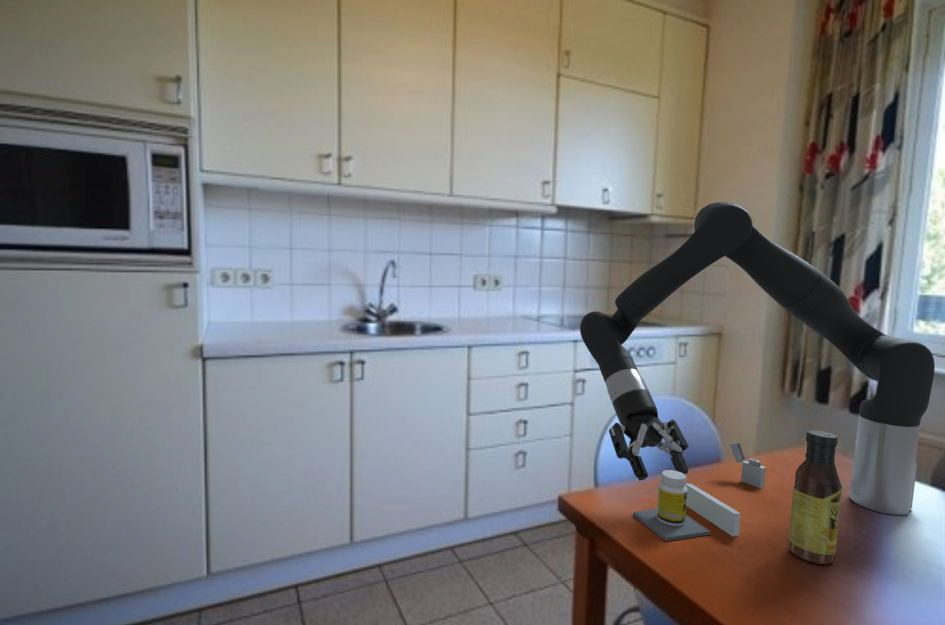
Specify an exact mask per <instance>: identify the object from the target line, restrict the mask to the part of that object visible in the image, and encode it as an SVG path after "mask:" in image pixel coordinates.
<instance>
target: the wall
mask: <svg viewBox="0 0 945 625" xmlns="http://www.w3.org/2000/svg"><path fill="white" fill-rule="evenodd" d="M685 486H686V488H687V502H686V508H688V509H691V510H692V511H693V512H695V513H696V514H698V515H699V516H701V517H702V518H704V519H706V520H707V521H708V522H710V523H711V524H713V525H715V526H716V527H718V528H719V529H721V531H723V532H725V533H726V534H727V535H730V536H731V537H732V538H733V537H738V536H739V534H740V523H741V522H740V521H741V513H740V512H739V511H737V510H736V509H735V508H732V507H731V506H729V505H727V504H726V503H724V502H722V501H721V500H719V499H717V498H716V497H714V496H713V495H710V494H709V493H708V492H705V491H704V490H702V489H700V488H699V487H697V486H696V485H694V484H692V483H686V485H685Z"/></svg>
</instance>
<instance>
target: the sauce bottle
mask: <svg viewBox="0 0 945 625" xmlns="http://www.w3.org/2000/svg"><path fill="white" fill-rule="evenodd" d="M805 435H806V437H805V441H806V443H807V444H806V451H805V459H804V461H802V463H801V464H799V466H798V467H797V468H796V471H795V477H794V478H795V479H794V486H793V490H792V499H791V500H792V501H791V511H790V512H791V513H790V521H789V522H790V525H789V535H788V539H789V544H788V548H789V550H790V552H791V553H792V554H794V556H796V557H797V558H800V559H802V560H803V561H807V562H810V563H812V564H817V565H829V564H831V563H832V562H833V561H834V558H835V554H836V552H837V543H838V542H837V541H838V532H839V525H840V524H839V523H840V513H841V501H842V494H843V493H842V492H843V491H842V490H843V487H842V483H841V480H840V476H839V474H838V469H837V466H836V462H835V461H836V460H835V457H836V447H837V446H838V439H839V437H838V435H837V434H834V433H831V432H827V431H824V430H815V429H814V430H813V429H811V430H807V431H806V434H805Z"/></svg>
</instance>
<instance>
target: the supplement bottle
mask: <svg viewBox="0 0 945 625" xmlns="http://www.w3.org/2000/svg"><path fill="white" fill-rule="evenodd" d="M686 475H687V474H686ZM686 475H685V474H683V473H681V472H678V471H676V470H671V469H666V470H663V471H661V477H660V478H661V479H660V480H661V481H660V482H658V483H659V484H658V490H657V503H656V509H657V513H656V517H657V519H658V520H659V521H660V522H662V523H663V524H666V525H669V526H682V525H683V524H684V523H685V515H687V511H686V510H687V506H686V502H687V488H686V486H685V485H686V484H687V476H686Z"/></svg>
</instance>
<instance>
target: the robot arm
mask: <svg viewBox="0 0 945 625" xmlns="http://www.w3.org/2000/svg"><path fill="white" fill-rule="evenodd" d="M724 257H726V258H727V259H729V260H730V261H732V262H733V263H735V264H736V265H737V266H739V267H740V268H741V269H742V270H743V271H744V272H745V273H746V274H747V275H748V276H749V277H750V278H751V279H752V280H753V281H754V282H755V283H756V284H757V285H758V286H759V287H760V288H761V290H763V291H764V292H765V293H766V294H767V295H768V296H769V297H770V298H772V300H774V301H775V302H776V303H777V304H778V305H780V306H781V307H782V308H783V309H785V311H787V312H788V313H789V314H790V315H792V316H794V318H796V319H797V320H799V321H800V322H801V323H803V324H805V326H807V327H808V328H809V329H811V330H813V331H814V332H815V333H816V334H818V335H820V336H821V337H822V338H823V339H825V340H826V341H828V342H829V343H831V345H833V346H834V347H835V348H836V349H837V350H838V351H839V352H840V353H841V354H842V355H843V356H844V357H845V358H846V359H847V360H848V361H849V362H850V363H851V364H852V365H853V367H855V368H856V369H857V370H858V371H859V372H860V373H861V374H863V376H865V377H867V378H869V379H870V380H873V381H876V382H877V386H876V390H875V394H874V396H873V397H872V398H870V399H869V398H868V399H865V400H862V401H861V402H860V404H859V408H858V409H859V410H858V418H857V419H858V420H857V428H856V429H857V431H856V438H855V446H854V458H853V465H852V466H853V467H852V475H851V483H850V492H849V494H850V495H849V498H850V499H851V501H853V502H854V503H855V504H856V505H859V506H861V507H863V508H866V509H869V510H871V511H875V512H877V513H878V512H879V513H882V514H888V515H892V516H893V515H894V516H906V515H908V514H910V510H911V509H913V501H914V494H915V486H916V476H917V470H918V469H917V468H918V463H917V461H916V460H917V453H918V452H917V450H918V445H919V444H918V443H919V435H920V427H921V420H922V418H923V416H924V415H925V414H926V412H927V409H928V407H929V404H930V399H931V394H932V388H933V383H934V378H935V371H936V370H935V369H936V368H935V365H936V364H935V363H936V362H935V358H934V356H933V355H934V354H932V352H931V350H930V348H928V346H926V345H924V344H923V343H921V342H918V341H915V340H910V339H904V338H899V337H894V336H890V335H887V334H886V333H884V332H882V331H880V330H879V329H877V327H876V328H875V327H874V326H873V325H871V324H870V323H869V322H867V321H865V320H864V319H863V318H862V317H860V315H858V313H857V312H856V311H855V310H854V308H853V306H852V305H851V303H850V301H849V299H848V297H847V295H846V293H845V292H844V291H843V290H842V288H840V287H839V286H838V285H837V284H836V283H835V282H834V281H833V280H832V279H831V278H829V277H828V276H827V275H825V274H824V273H823V272H821V271H820V270H819V269H818V268H816V267H815V266H813V265H812V264H810V263H809V262H807V261H806V260H804V259H803V258H801V257H799V256H797V255H796V254H795V253H794V252H791V251H790V250H788V249H785V248H784V247H782V246H780V245H778V244H777V243H775V242H774V241H772V239H771V240H770V239H769V238H768V237H766V236H765V235H764V234H763V233H762V232H761V231H759V230H758V228H757V227H755V225H753V219H752V217H751V215H750V213H749V212H748V211H747V210H746V209H745V208H743V207H742V206H740V205H738V204H734V203H731V202H726V201H716V202H713V203H710V204H707V205H705V206H704V207H702V208H701V209H700V210H699V211H698V212H697V214H696V217H695V219H694V232H693V233H692V234H691V235H690V237H689V238H688V239H687V240H685V242H684V243H682V245H680V247H679V248H677V249H676V250H675V251H674V252H673V253H671V254H670V255H668V256H667V257H666V258H665V259H663V260H661V261H660V262H659V263H657V264H656V265H654V266H652V267H651V268H649V269H647V270H646V271H645V272H644V273H642V274H641V275H640V276H639V277H637V278H636V279H635V280H634V281H633V282H631V283H630V284H629V285H628V286H627V287H626V288H625V289H624V290H623V291H622V292H620V293H619V295H618V296H617V297H616V298H615V300H614V303H615V304H614V305H615V307H616V308H617V309H616V311H615V312H614V313H613V315H612V316H609V315H607V314H605V313H604V312H601V311H590V312H588V313H587V314H585V315H584V316H583V317H582V319H581V321H580V325H579V331H580V332H579V333H580V336H581V339H582V341H583V344H584V345H585V347H586V348H587V350H588V351H589V353H590V355H591V357H592V358H593V359H594V361H595V363H596V364H597V365H598V367H599V371H600V373H601V377H602V379H603V380H604V381H603V382H604V383H605V386H606V390H607V394H608V397H609V398H610V399H609V400H610V402H611V404H612V407H613V409H614V412H615V414H616V417H617V420H618V422H615V423H614V424H612V426H611V427H610V428H609V429H608V432H609V435H610V439H611V442H612V445H613V448H614V451H615V456H616V457H617V458H618V459H626V461H628V462H629V465H630V466H631V468H632V471H633V475H634V476H635V477H636V478H637V479H638V481H644V480H646V479H647V478H648V477H649V474H648V472H647V469H646V466H645V464H644V462H643V458H642V456H640V451H641V449H643V448H647V447H650V448H653V447H654V448H655V447H656V448H658V449H659V450H660V451H664V452H665V453H666V454H667V455H669V457H670V460H671V461H670V462H671V463H672V465H673V467H674V469H675V470H674V471H678V472H681V473H683V474H685V475H687V474H688V473H689V466H688V463H687V461H686V460H685V457H684V455H683V452H684V451H686V450H687V449H688V448H690V447H689V444H688V442H687V439H686V438H685V436H684V434H683V433H682V430H681V429H680V426H679V425H678V423H677V421H676V420H675V419H670V420H669V421H667V422H663V421H661V420H660V418H659V412H658V408H657V406H656V403H655V402H654V399H653V397H652V395H651V392H650V391H649V390H650V389H649V388H648V386H647V384H646V381H645V379H644V378H643V377H642V374H640V371H639V369H638V367H637V364H636V362H635V361H634V358H633V357H632V355H631V353H630V352H629V351H628V349H626V348H625V347H624V345H623V344H624V343H626V341H627V340H628V339H629V338H630V336H631V335H632V333H633V332H634V331H635V330H636V328H637V327H638V325H639V324H640V322H641V320H643V319H644V318H646V317H647V316H648V315H649V314H650V313H651V312H653V311H654V310H655V309H656V308H657V307H658V306H660V305H661V304H662V303H663V302H664V301H665V300H666V299H667V298H669V297H670V296H671V295H672V294H674V293H675V292H676V291H677V290H678V289H679V288H680V287H682V286H683V285H685V284H686V283H687V282H688V281H690V280H691V279H693V277H695V276H696V275H697V274H700V272H702V271H703V270H705V269H706V268H708V267H709V266H711V265H712V264H714V263H715V262H717V261H719V260H721V259H722V258H724ZM625 436H627V437H628V438H629V442H628V443H627V441H626V438H625ZM662 440H664V441H662Z"/></svg>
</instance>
